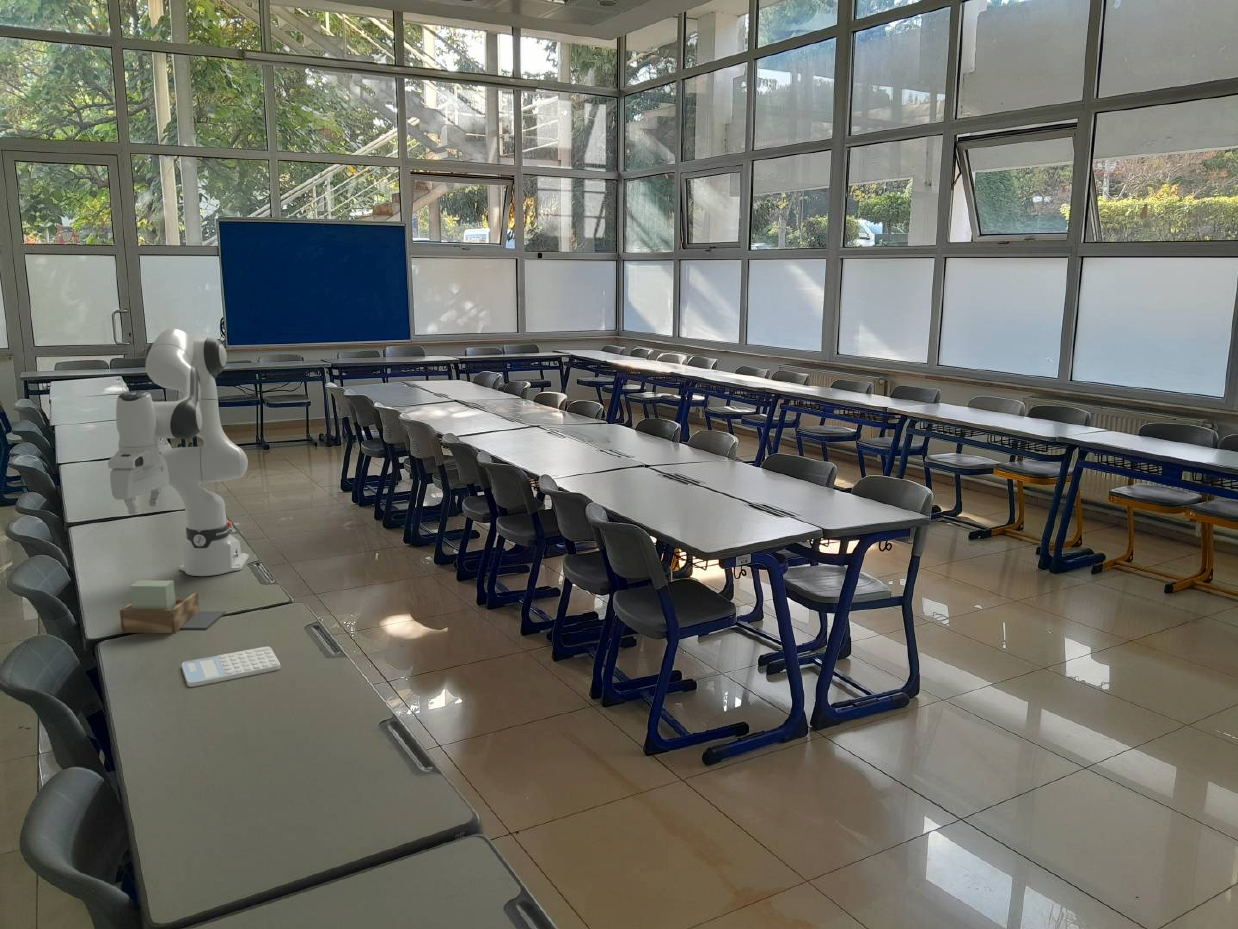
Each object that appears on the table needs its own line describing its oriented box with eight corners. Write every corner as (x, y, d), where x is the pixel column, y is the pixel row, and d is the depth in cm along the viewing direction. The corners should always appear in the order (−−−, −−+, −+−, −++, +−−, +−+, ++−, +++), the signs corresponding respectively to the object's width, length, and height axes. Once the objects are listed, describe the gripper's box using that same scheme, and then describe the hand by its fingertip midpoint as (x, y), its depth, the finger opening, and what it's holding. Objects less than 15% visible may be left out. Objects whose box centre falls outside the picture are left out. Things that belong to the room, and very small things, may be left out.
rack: (148, 613, 247) (146, 592, 246) (199, 613, 247) (197, 592, 246) (121, 632, 234) (119, 610, 232) (175, 633, 234) (173, 610, 233)
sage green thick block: (143, 624, 240) (138, 580, 237) (177, 624, 240) (173, 580, 237) (134, 630, 235) (129, 586, 233) (169, 630, 235) (165, 586, 233)
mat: (199, 612, 248) (199, 611, 248) (225, 613, 248) (225, 611, 248) (179, 629, 236) (179, 627, 236) (206, 629, 236) (206, 627, 236)
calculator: (282, 671, 213) (281, 663, 213) (188, 690, 203) (187, 682, 202) (270, 651, 224) (270, 644, 224) (181, 668, 214) (180, 660, 214)
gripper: (149, 449, 240) (154, 501, 243) (103, 462, 220) (108, 518, 222) (173, 449, 240) (177, 501, 242) (128, 463, 220) (133, 519, 222)
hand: (144, 509), depth 232 cm, fingers open, 8 cm apart
